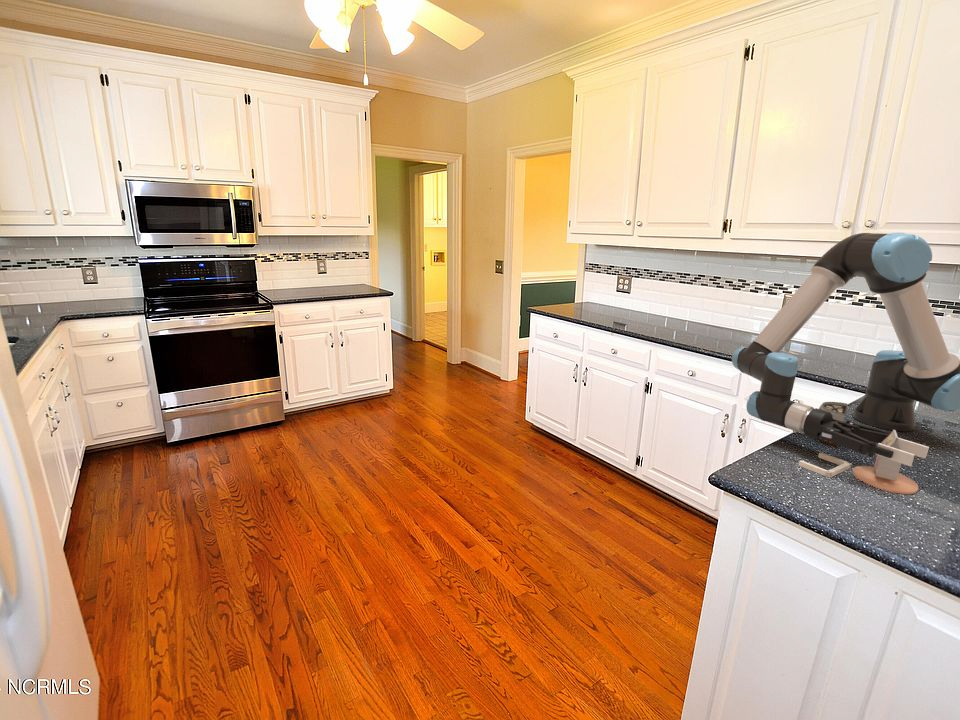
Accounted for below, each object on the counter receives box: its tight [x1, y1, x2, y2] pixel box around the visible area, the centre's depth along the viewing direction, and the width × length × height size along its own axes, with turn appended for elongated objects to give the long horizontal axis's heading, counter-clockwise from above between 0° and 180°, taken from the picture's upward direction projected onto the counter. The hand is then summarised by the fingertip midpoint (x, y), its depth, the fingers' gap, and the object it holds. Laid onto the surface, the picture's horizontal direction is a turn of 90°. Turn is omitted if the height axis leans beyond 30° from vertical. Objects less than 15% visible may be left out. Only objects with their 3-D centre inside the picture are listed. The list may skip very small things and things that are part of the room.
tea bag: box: [873, 429, 903, 481], centre depth 112 cm, size 4×7×10 cm, turn 144°
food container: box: [818, 401, 848, 448], centre depth 136 cm, size 12×6×10 cm, turn 141°
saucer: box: [852, 465, 919, 495], centre depth 114 cm, size 12×12×1 cm
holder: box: [797, 451, 853, 479], centre depth 120 cm, size 11×7×1 cm, turn 121°
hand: (919, 456), depth 107 cm, fingers closed on tea bag, 8 cm apart
